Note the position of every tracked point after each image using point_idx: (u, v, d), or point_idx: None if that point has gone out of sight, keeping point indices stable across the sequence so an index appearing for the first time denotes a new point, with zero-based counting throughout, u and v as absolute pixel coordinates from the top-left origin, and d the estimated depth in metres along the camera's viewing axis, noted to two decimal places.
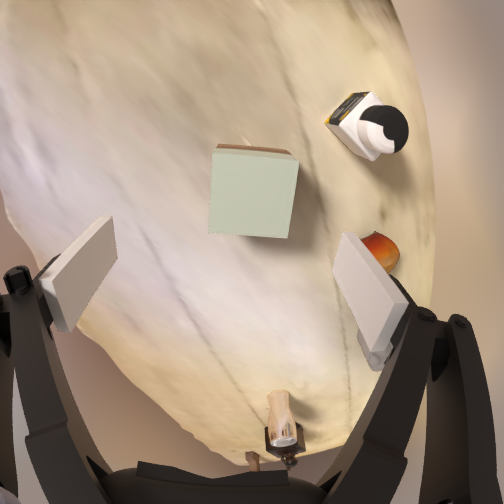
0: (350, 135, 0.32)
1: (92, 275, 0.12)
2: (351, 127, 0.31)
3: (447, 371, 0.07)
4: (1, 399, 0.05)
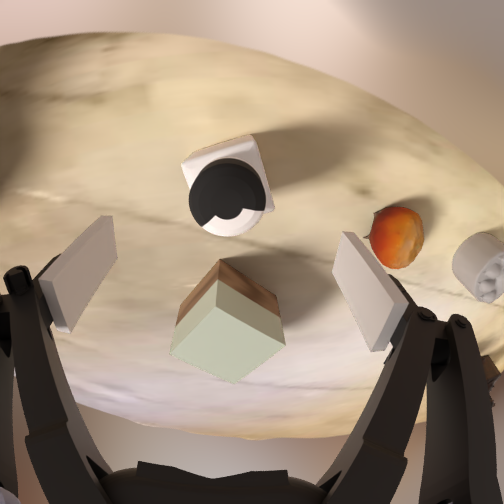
0: None
1: (92, 275, 0.12)
2: None
3: (447, 371, 0.07)
4: (1, 399, 0.05)
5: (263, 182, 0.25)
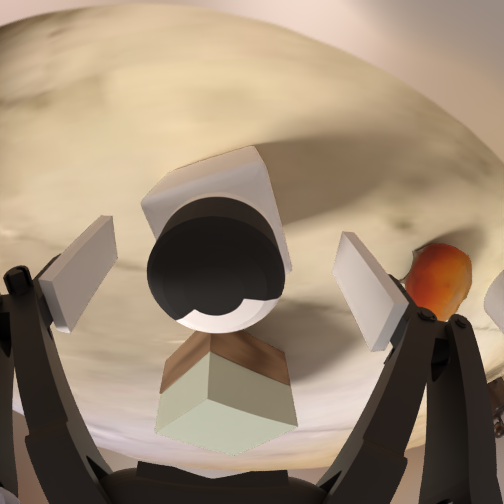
0: None
1: (91, 275, 0.12)
2: None
3: (447, 371, 0.07)
4: (1, 399, 0.05)
5: (276, 231, 0.15)
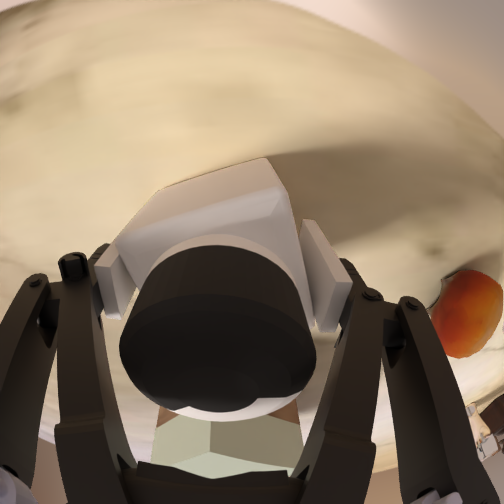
0: None
1: None
2: None
3: (404, 357, 0.08)
4: (33, 390, 0.06)
5: (298, 282, 0.11)
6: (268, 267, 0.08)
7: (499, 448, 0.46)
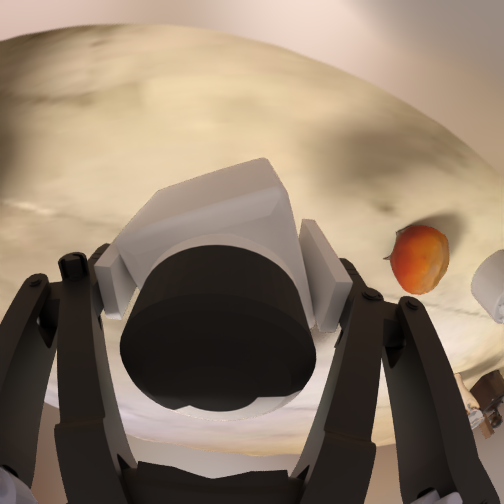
0: None
1: None
2: None
3: (404, 357, 0.08)
4: (33, 390, 0.06)
5: (298, 282, 0.11)
6: (268, 267, 0.08)
7: (492, 431, 0.53)
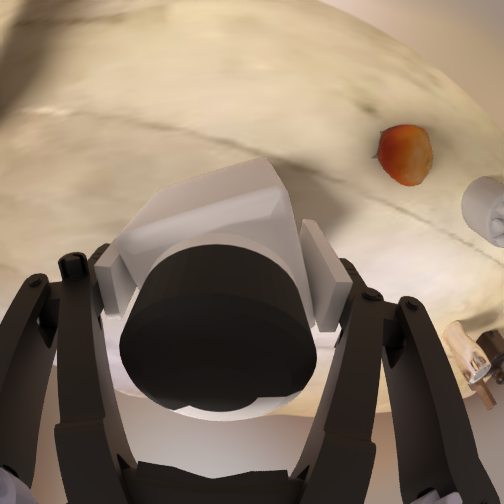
0: None
1: None
2: None
3: (404, 357, 0.08)
4: (33, 390, 0.06)
5: (298, 282, 0.11)
6: (268, 266, 0.08)
7: (494, 402, 0.57)
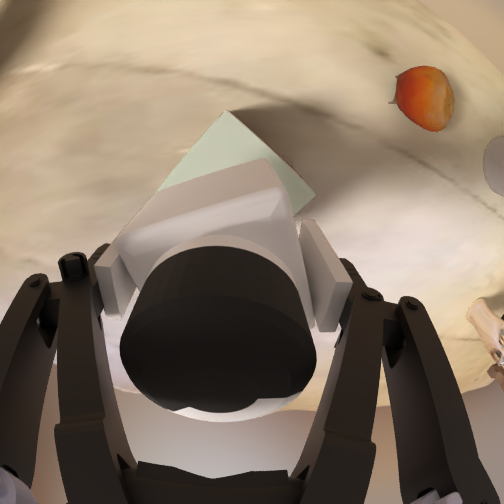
0: None
1: None
2: None
3: (404, 357, 0.08)
4: (33, 390, 0.06)
5: (298, 283, 0.11)
6: (268, 268, 0.08)
7: None
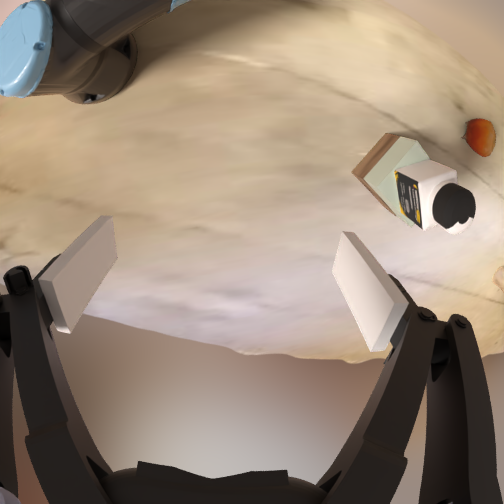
0: (434, 225, 0.32)
1: (91, 276, 0.12)
2: (431, 222, 0.31)
3: (447, 371, 0.07)
4: (1, 399, 0.05)
5: None
6: None
7: None
